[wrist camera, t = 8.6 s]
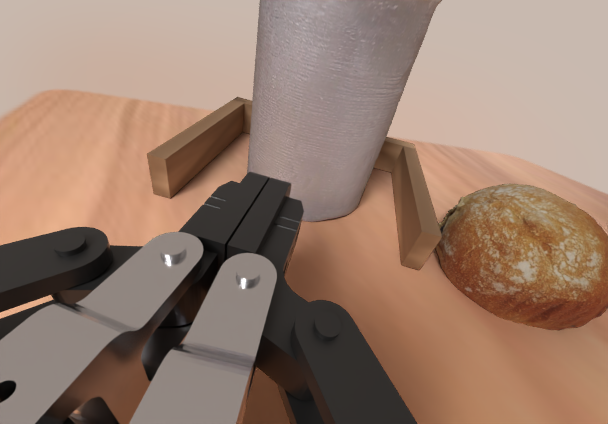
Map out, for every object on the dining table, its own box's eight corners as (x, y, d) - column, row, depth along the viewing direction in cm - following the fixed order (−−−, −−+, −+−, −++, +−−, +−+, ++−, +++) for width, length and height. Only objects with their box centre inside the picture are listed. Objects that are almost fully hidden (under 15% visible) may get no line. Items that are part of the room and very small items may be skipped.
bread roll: (431, 244, 26) (432, 166, 23) (574, 252, 22) (603, 156, 18) (429, 333, 19) (428, 236, 15) (646, 372, 14) (722, 249, 11)
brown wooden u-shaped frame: (401, 170, 29) (414, 144, 27) (419, 270, 18) (442, 237, 16) (236, 125, 30) (237, 96, 28) (153, 193, 19) (146, 154, 17)
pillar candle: (272, 147, 28) (298, -58, 18) (367, 176, 27) (444, -26, 17) (223, 197, 20) (223, -106, 11) (352, 242, 19) (474, -55, 10)
